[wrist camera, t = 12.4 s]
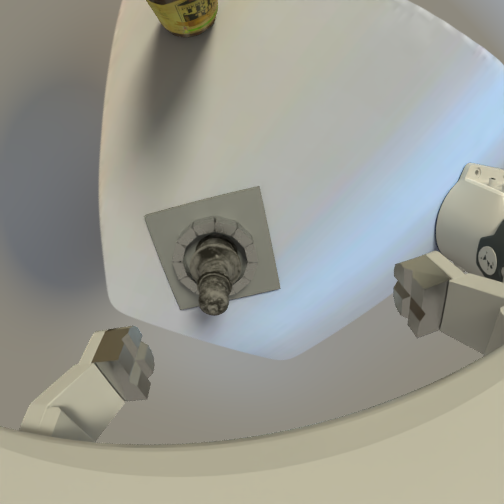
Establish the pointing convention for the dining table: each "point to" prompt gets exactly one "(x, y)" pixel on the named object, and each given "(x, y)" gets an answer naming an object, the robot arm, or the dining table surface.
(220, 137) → the dining table surface
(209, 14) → the sauce bottle
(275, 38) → the dining table surface
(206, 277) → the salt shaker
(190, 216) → the board
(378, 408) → the robot arm
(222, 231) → the ring
